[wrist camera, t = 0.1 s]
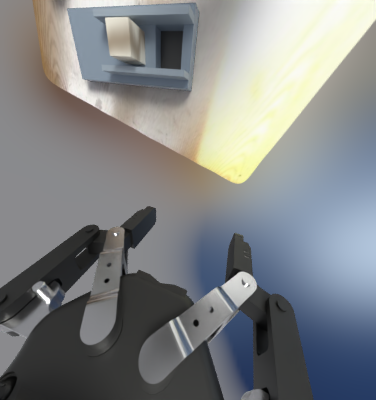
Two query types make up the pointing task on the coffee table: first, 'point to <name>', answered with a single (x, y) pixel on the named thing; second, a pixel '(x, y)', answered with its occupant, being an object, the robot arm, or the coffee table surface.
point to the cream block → (125, 40)
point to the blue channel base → (154, 45)
